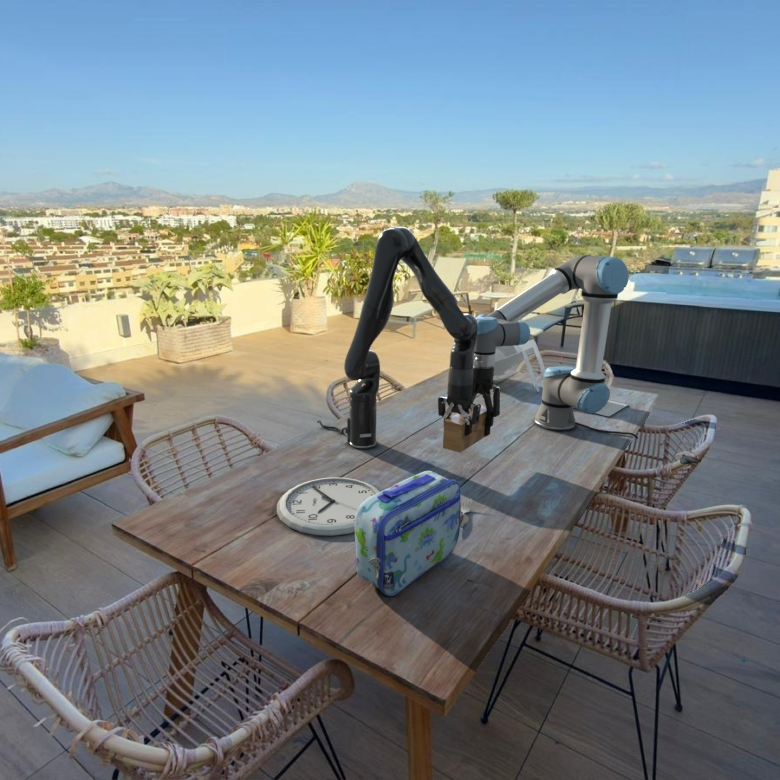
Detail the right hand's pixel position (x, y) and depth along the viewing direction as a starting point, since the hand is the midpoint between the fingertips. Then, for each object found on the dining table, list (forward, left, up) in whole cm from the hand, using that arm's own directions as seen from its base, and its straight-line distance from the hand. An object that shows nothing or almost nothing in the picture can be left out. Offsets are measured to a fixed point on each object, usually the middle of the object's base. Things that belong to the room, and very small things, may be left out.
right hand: (477, 432), depth 175 cm
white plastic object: (-16, -83, -8) cm, 85 cm away
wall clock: (+40, +41, -8) cm, 58 cm away
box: (+4, +6, -1) cm, 7 cm away
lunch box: (+17, +66, -8) cm, 68 cm away
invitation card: (-56, -58, -8) cm, 81 cm away
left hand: (+7, +12, +4) cm, 15 cm away
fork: (+5, +43, -8) cm, 44 cm away
